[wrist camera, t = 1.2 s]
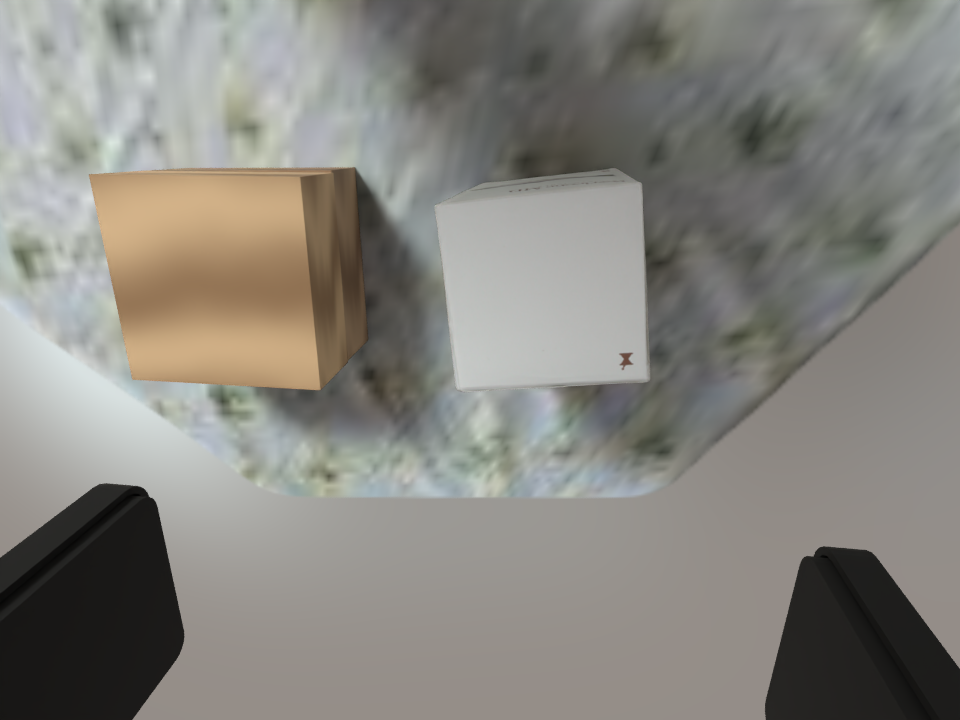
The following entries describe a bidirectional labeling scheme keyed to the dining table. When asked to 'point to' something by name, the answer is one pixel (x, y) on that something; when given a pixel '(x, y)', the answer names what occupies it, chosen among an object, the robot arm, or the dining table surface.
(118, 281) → the tower top
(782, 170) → the dining table surface
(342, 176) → the tower base
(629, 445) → the dining table surface
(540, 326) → the supplement box
